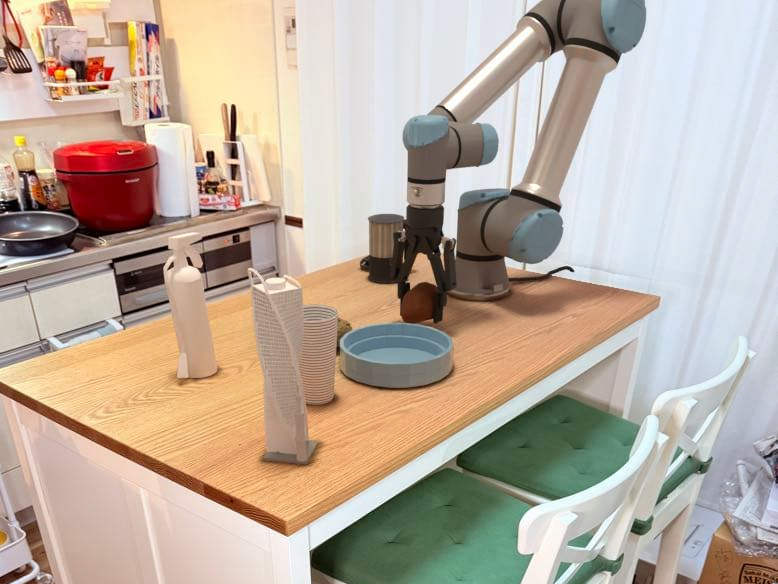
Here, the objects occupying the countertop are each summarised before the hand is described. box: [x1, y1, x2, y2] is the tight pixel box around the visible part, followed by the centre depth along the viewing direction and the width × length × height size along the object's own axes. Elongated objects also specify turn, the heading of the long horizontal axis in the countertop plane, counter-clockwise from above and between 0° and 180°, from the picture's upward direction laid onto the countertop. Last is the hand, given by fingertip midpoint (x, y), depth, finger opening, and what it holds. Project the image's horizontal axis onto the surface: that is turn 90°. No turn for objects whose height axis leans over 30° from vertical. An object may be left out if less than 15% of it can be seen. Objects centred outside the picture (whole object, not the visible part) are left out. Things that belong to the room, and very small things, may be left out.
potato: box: [400, 281, 438, 324], centre depth 163 cm, size 8×12×8 cm, turn 140°
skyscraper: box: [247, 267, 319, 466], centre depth 114 cm, size 8×8×28 cm
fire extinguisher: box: [162, 231, 218, 379], centre depth 140 cm, size 7×12×25 cm, turn 153°
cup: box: [299, 304, 339, 405], centre depth 133 cm, size 8×8×16 cm
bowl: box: [339, 322, 455, 389], centre depth 148 cm, size 22×22×5 cm
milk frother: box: [359, 213, 409, 284], centre depth 196 cm, size 14×16×15 cm
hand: (421, 317), depth 165 cm, fingers closed on potato, 8 cm apart
